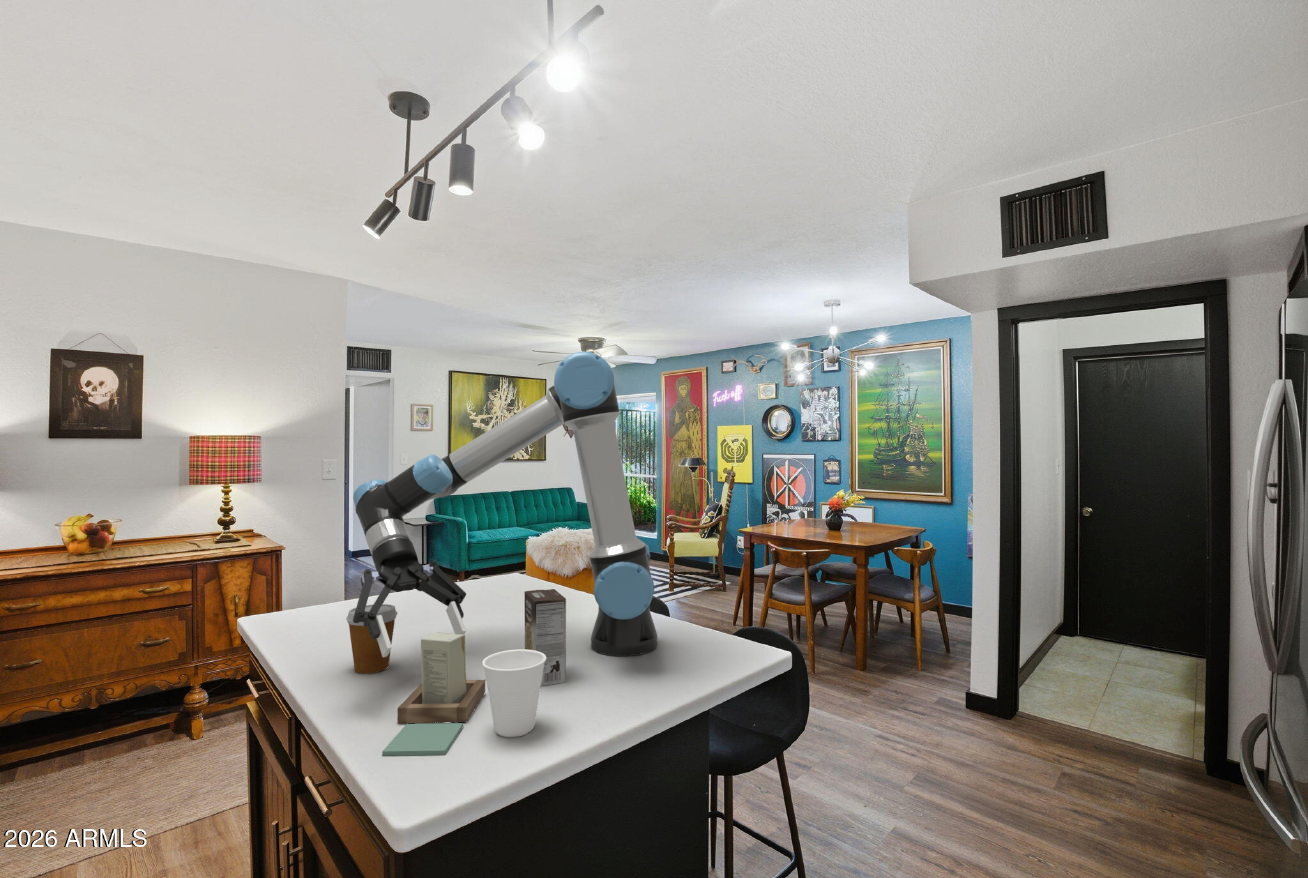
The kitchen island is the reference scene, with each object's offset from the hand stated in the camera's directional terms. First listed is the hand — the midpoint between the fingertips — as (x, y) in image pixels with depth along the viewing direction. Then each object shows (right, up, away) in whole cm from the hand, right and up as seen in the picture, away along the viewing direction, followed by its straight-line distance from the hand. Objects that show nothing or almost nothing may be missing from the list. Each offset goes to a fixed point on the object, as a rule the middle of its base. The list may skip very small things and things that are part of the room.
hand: (426, 643), depth 107 cm
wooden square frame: (+4, -10, -3) cm, 11 cm away
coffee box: (+19, -11, +11) cm, 24 cm away
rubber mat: (+5, -10, -15) cm, 19 cm away
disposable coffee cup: (-17, -11, +17) cm, 26 cm away
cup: (+18, -10, -11) cm, 23 cm away
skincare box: (+4, -10, -3) cm, 11 cm away
